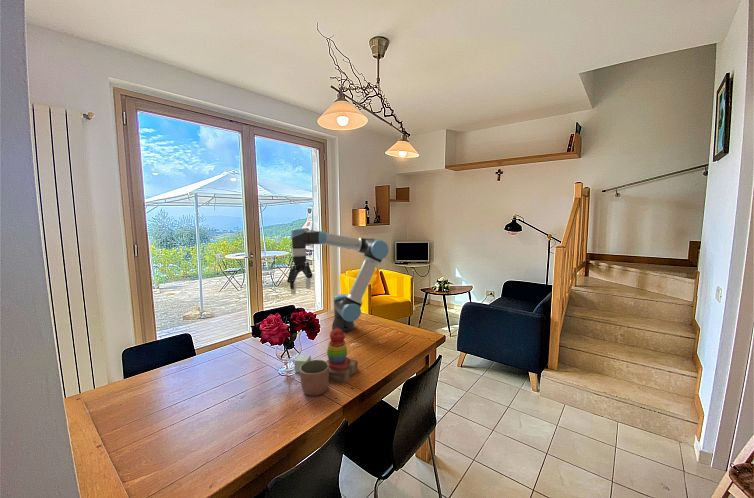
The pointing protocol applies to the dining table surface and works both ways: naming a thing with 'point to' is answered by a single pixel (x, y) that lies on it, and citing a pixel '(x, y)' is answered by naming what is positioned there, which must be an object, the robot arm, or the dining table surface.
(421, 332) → the dining table surface
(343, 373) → the plinth
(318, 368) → the planter
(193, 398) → the dining table surface
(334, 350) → the stacking bear
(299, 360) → the block
